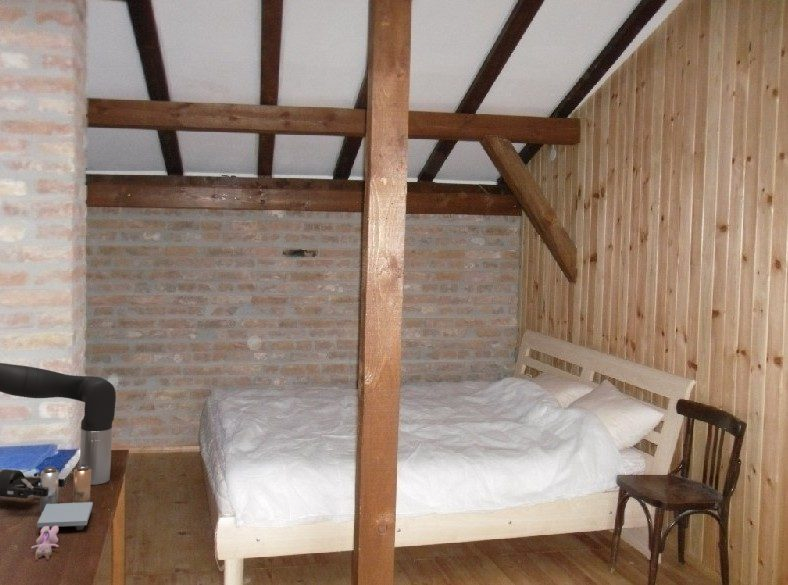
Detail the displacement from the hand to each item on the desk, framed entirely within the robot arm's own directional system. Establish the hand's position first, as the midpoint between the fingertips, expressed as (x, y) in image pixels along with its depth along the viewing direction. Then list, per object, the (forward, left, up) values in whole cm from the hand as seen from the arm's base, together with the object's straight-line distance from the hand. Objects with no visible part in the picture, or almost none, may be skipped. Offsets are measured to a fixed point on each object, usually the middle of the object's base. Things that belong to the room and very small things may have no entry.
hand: (55, 487), depth 205 cm
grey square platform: (+11, -1, -7) cm, 13 cm away
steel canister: (-2, -1, -7) cm, 7 cm away
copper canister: (+1, +7, -7) cm, 10 cm away
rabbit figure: (+24, -11, -7) cm, 28 cm away
